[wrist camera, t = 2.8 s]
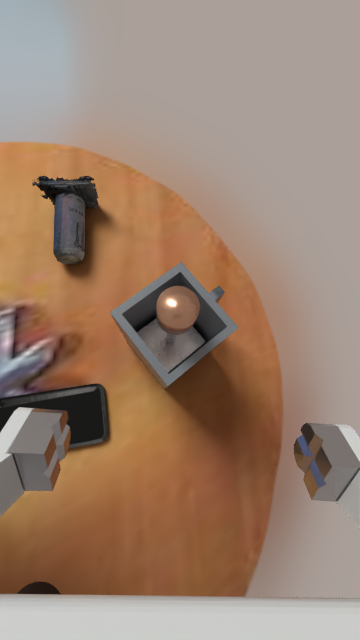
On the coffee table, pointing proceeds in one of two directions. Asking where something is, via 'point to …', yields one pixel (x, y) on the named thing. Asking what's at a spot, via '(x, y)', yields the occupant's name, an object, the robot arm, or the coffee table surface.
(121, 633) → the robot arm
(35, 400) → the phone
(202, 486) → the coffee table surface
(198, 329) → the box
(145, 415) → the coffee table surface
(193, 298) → the ball-topped press plunger
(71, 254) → the beverage can
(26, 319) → the coffee table surface
